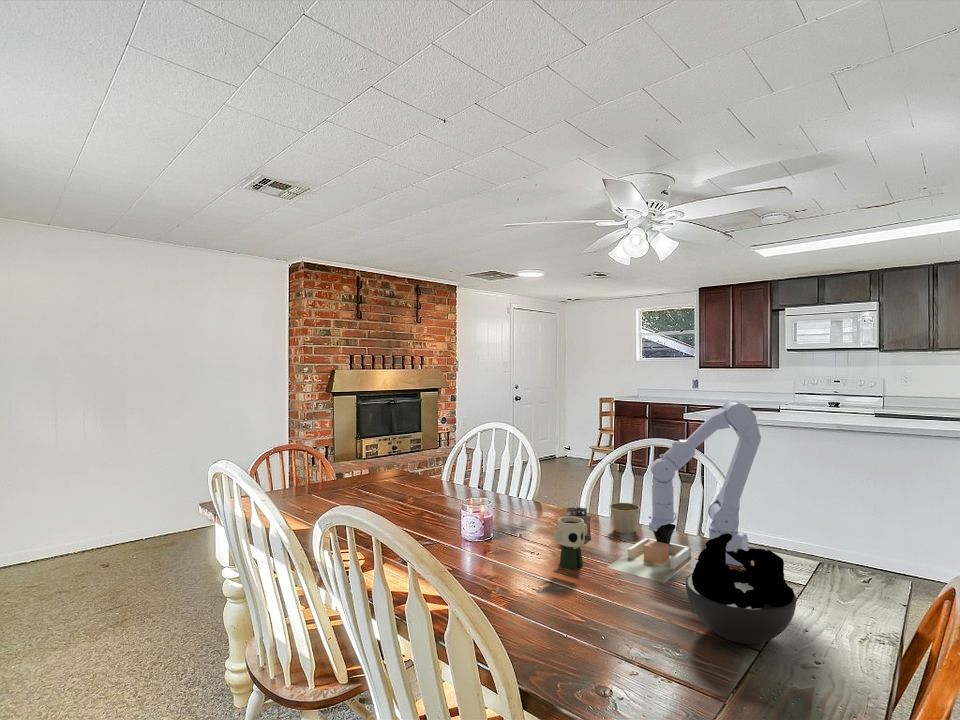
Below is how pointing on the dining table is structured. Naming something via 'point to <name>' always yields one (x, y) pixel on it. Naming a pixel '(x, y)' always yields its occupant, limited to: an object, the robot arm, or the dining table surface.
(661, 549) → the block
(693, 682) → the dining table surface
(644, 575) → the board
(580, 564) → the character mug
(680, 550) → the cream u-shaped frame
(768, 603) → the coal bowl
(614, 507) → the flower pot
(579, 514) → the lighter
